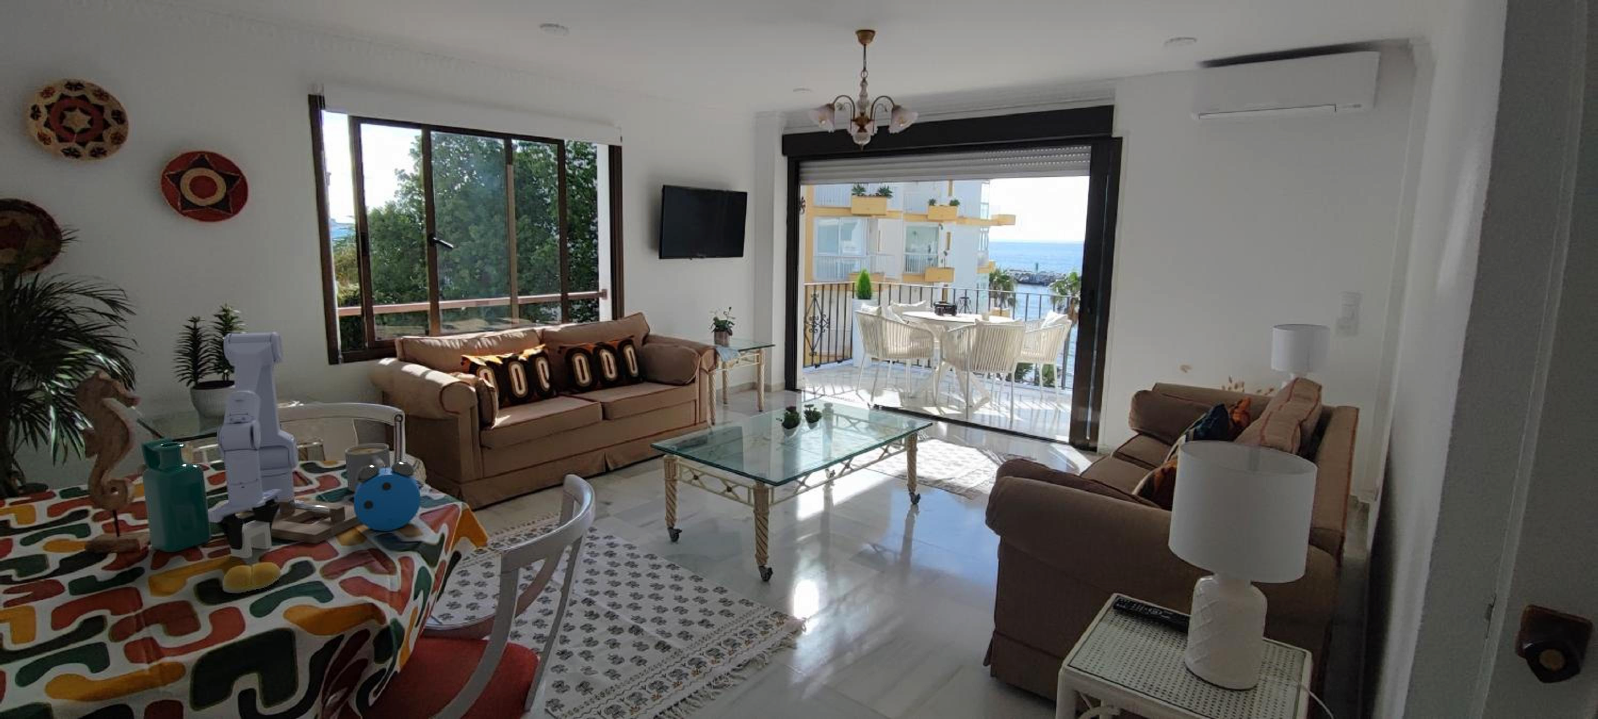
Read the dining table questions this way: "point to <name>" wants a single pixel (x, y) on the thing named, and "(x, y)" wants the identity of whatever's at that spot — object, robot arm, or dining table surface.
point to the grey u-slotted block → (253, 538)
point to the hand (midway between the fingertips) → (250, 542)
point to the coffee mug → (365, 460)
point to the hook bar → (309, 507)
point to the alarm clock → (386, 496)
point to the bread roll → (250, 577)
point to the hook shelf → (292, 529)
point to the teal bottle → (174, 497)
